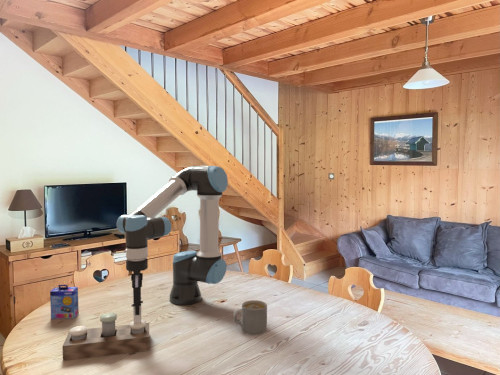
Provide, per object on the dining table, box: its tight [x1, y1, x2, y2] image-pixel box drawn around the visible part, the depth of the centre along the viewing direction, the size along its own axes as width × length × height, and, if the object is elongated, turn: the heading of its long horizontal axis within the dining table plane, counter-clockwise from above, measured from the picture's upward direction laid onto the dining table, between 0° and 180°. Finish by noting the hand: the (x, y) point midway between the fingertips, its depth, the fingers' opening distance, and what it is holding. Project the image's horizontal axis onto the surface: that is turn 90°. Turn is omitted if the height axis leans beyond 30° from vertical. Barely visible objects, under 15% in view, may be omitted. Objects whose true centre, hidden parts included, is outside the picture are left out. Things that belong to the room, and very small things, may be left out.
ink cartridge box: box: [49, 284, 80, 320], centre depth 162 cm, size 10×6×14 cm, turn 95°
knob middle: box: [99, 312, 118, 337], centre depth 136 cm, size 6×6×7 cm
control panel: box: [61, 322, 150, 361], centre depth 136 cm, size 28×12×5 cm, turn 105°
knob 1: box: [69, 325, 88, 341], centre depth 133 cm, size 6×6×7 cm
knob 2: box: [129, 319, 147, 334], centre depth 138 cm, size 6×6×7 cm
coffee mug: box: [232, 299, 268, 336], centre depth 151 cm, size 13×10×10 cm
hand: (137, 322), depth 138 cm, fingers closed
